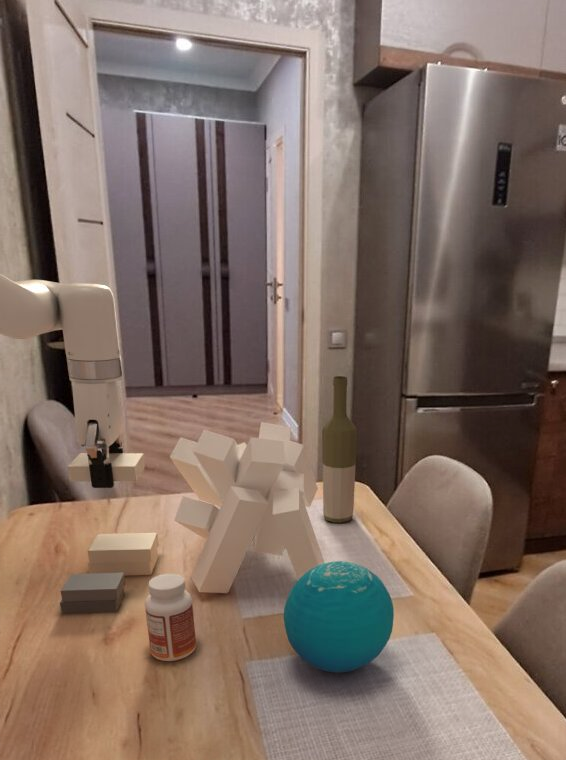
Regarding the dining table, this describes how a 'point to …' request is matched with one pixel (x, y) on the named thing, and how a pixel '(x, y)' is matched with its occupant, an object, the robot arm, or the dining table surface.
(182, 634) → the pill bottle
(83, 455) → the cream flat block
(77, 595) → the grey books
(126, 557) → the white books
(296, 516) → the pile of blocks
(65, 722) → the dining table surface
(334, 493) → the bottle
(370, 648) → the decorative orb
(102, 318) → the robot arm
